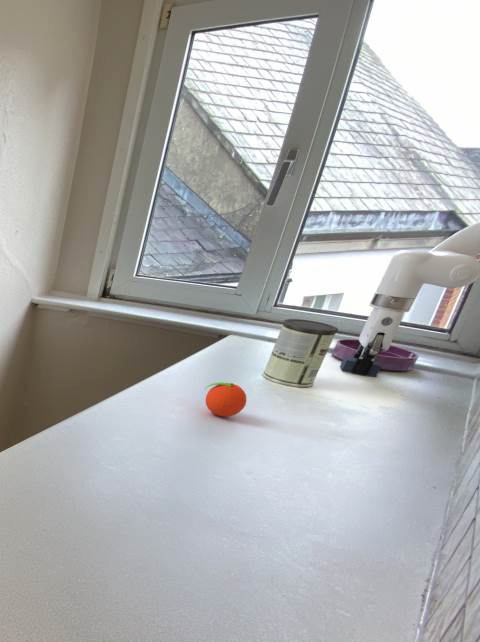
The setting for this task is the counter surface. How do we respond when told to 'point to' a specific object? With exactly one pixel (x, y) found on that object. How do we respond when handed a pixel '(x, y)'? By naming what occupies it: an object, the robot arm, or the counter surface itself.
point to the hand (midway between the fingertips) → (357, 370)
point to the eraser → (350, 361)
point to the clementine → (225, 399)
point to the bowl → (378, 355)
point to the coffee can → (299, 352)
